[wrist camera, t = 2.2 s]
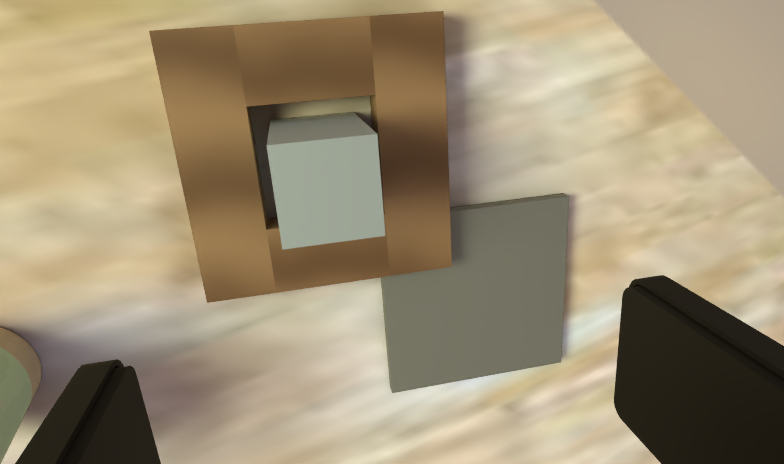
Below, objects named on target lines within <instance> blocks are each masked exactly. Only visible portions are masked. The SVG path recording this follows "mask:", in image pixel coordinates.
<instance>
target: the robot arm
mask: <svg viewBox="0 0 784 464" xmlns="http://www.w3.org/2000/svg"><path fill="white" fill-rule="evenodd" d="M614 404H615V408H616V411H617V413H618V415H619V417H620V418H621V420H622V421H623V422H624V423H625V424H626V425H627V426H628V427H629V428H630V430H631V431H632V432H633V433H634V434H635V435H636V436H637V437H638V438H639V439H640V441H641V442H642V443H643V444H644V445H645V446H646V447H647V448H648V449H649V450H650V452H651V453H652V454H653V455H654V456H655V457H656V458H657V459H658V460H659V462H660V463H661V464H784V346H783V345H781V344H779V343H778V342H776V341H774V340H773V339H771V338H769V337H768V336H766V335H764V334H763V333H761V332H759V331H757V330H756V329H754V328H752V327H751V326H749V325H747V324H746V323H744V322H742V321H741V320H739V319H737V318H736V317H734V316H732V315H730V314H729V313H727V312H725V311H724V310H722V309H720V308H719V307H717V306H715V305H714V304H712V303H710V302H709V301H707V300H705V299H703V298H702V297H700V296H698V295H697V294H695V293H693V292H692V291H690V290H688V289H687V288H685V287H683V286H682V285H680V284H678V283H676V282H675V281H673V280H671V279H670V278H668V277H666V276H663V275H661V276H654V277H647V278H641V279H635V280H633V281H632V282H631V284H630V286H629V288H626V289H625V291H624V292H623V297H622V309H621V321H620V333H619V345H618V357H617V369H616V381H615V393H614ZM15 464H161V463H160V459H159V455H158V452H157V448H156V444H155V441H154V437H153V434H152V430H151V426H150V423H149V419H148V415H147V412H146V408H145V404H144V401H143V397H142V394H141V390H140V386H139V383H138V379H137V375H136V372H135V370H134V368H133V367H132V366H126V367H124V366H123V364H122V363H121V361H119V360H111V361H105V362H98V363H92V364H85V365H81V367H80V368H79V369H78V370H77V372H76V373H75V375H74V376H73V378H72V379H71V381H70V382H69V384H68V385H67V387H66V388H65V390H64V391H63V393H62V394H61V396H60V397H59V399H58V400H57V402H56V403H55V405H54V406H53V408H52V409H51V411H50V412H49V414H48V415H47V417H46V418H45V420H44V421H43V423H42V424H41V426H40V427H39V429H38V430H37V432H36V433H35V435H34V436H33V438H32V439H31V441H30V442H29V444H28V445H27V447H26V448H25V450H24V451H23V453H22V454H21V456H20V457H19V459H18V460H17V462H16V463H15Z"/></svg>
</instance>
